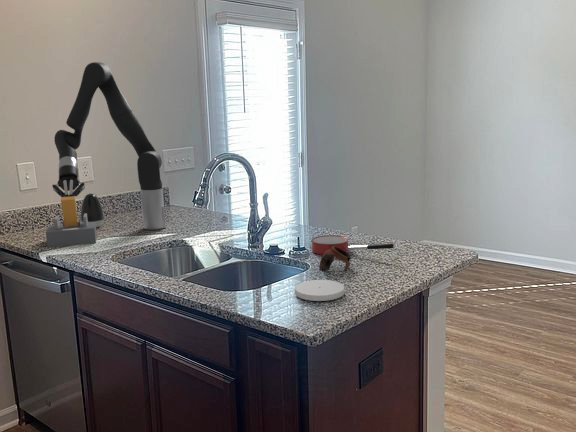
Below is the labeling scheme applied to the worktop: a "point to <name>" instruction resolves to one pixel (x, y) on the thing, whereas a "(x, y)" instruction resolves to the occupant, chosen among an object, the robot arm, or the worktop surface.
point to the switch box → (71, 233)
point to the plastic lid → (319, 290)
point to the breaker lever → (69, 211)
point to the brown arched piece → (329, 258)
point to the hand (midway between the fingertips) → (69, 204)
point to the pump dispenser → (92, 210)
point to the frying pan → (340, 244)
